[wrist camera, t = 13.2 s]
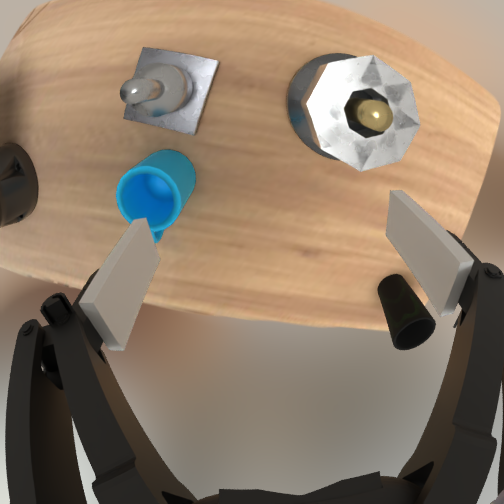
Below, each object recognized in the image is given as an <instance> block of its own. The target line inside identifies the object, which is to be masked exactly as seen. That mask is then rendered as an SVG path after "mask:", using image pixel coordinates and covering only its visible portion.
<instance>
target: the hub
mask: <svg viewBox="0 0 504 504" xmlns="http://www.w3.org/2000/svg"><path fill="white" fill-rule="evenodd" d="M351 58H357V57H356V56H353V55H349V54H341V53H335V54H327V55H323V56H320V57H318V58H315V59H313V60H312V61H310V62H308V63H306V64H305V65H304V66H303V67H301V68H300V69H299V71H298V72H297V73H296V74H295V76H294V77H293V79H292V81H291V83H290V85H289V88H288V92H287V98H286V106H287V113H288V117H289V120H290V123H291V125H292V127H293V129H294V131H295V132H296V133H297V135H298V136H299V137H300V139H301V140H302V141H303V142H304V143H305V144H306V145H307V146H308V147H310V148H311V149H312V150H314V151H315V152H317V153H318V154H320V155H322V156H325V157H327V158H330V159H335V160H340V159H338V158H336V157H334V156H333V155H331V154H329V153H327V152H325V151H323V150H322V149H321V148H320V147H319V146H318V145H317V144H316V143H315V142H314V140H313V137H312V134H311V131H310V128H309V125H308V122H307V119H306V116H305V113H304V111H303V108H302V105H301V100H302V98H303V96H304V94H305V92H306V91H307V89H308V87H309V85H310V83H311V81H312V79H313V77H314V76H315V74H316V72H317V70H318V68H319V66H322V65H324V64H327V63H331V62H335V61H340V60H346V59H351ZM343 109H344V112H345V116H346V119H347V123H348V126H349V128H350V129H351V130H353V131H359V130H363V129H367V128H370V129H373V130H375V131H385V130H387V129H388V128H389V127H390V126H391V124H392V122H393V112H392V110H391V108H390V107H389V106H388V105H387V104H386V103H384V102H382V101H376V100H373V97H372V96H370V95H369V94H367V93H366V92H364V91H363V90H357V91H353V92H352V94H351V95H350V97H349V99H348V101H347V103H346V105H345V106H344V108H343Z"/></svg>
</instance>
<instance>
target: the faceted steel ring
mask: <svg viewBox="0 0 504 504" xmlns="http://www.w3.org/2000/svg"><path fill="white" fill-rule="evenodd" d="M357 90H363V91H364V92H366V93H367V94H369V95H370V96H372V97H373V100H376V101H382V102H384V103H386V104H387V105H388V106H389V107H390V108H391V110H392V112H393V122H392V124H391V126H390V127H389V128H388V129H387V130H385V131H375V130H373V129H370V128H367V129H363V130H359V131H353V130H351V129H350V128H349V126H348V123H347V119H346V116H345V112H344V109H343V108H344V106H345V105H346V103H347V101H348V99H349V97H350V95H351V94H352V92H353V91H357ZM301 105H302V108H303V111H304V113H305V116H306V119H307V122H308V125H309V128H310V131H311V134H312V137H313V140H314V142H315V143H316V144H317V145H318V146H319V147H320V148H321V149H322V150H323V151H325V152H327V153H329V154H331V155H333V156H334V157H336V158H338V159H340V160H342V161H343V162H345V163H347V164H349V165H350V166H352V167H354V168H355V169H357V170H359V171H360V172H361V171H365V170H369V169H372V168H376V167H379V166H383V165H387V164H391V163H394V162H398V161H400V160H401V159H402V157H403V155H404V154H405V152H406V150H407V148H408V147H409V145H410V143H411V141H412V140H413V138H414V136H415V134H416V132H417V131H418V129H419V127H420V121H419V116H418V111H417V106H416V102H415V98H414V93H413V89H412V86H411V82H410V81H408V80H407V79H406V78H405V77H403V76H402V75H401V74H399V73H398V72H397V71H395V70H394V69H393V68H391V67H390V66H389V65H387V64H386V63H384V62H383V61H381V60H380V59H379V58H377V57H376V56H374V55H370V56H363V57H357V58H351V59H346V60H340V61H335V62H331V63H327V64H324V65H322V66H319V68H318V70H317V72H316V74H315V76H314V77H313V79H312V81H311V83H310V85H309V87H308V89H307V91H306V92H305V94H304V96H303V98H302V100H301Z"/></svg>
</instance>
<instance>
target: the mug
mask: <svg viewBox="0 0 504 504" xmlns="http://www.w3.org/2000/svg"><path fill="white" fill-rule="evenodd" d="M195 183H196V174H195V170H194V168H193V165H192V163H191V162H190V161H189V160H188V158H187V157H186V156H184V155H183V154H181V153H180V152H177V151H174V150H160V151H157V152H155V153H153V154H151V155H150V156H148V157H147V158H145V159H144V160H143V161H141V162H140V163H138V164H137V165H136V166H134V167H133V168H132V169H130V170H129V171H128V172H127V173H126V174H125V175H124V176H123V177H122V178H121V180H120V182H119V184H118V186H117V192H116V199H117V205H118V208H119V210H120V212H121V214H122V215H123V217H124V218H125V219H126V220H127V221H128V222H129V223H130V224H131V223H132V222H133V220H135V219H141V218H147V222H148V225H149V228H150V231H151V234H152V237H153V240H154V243H158V242H159V241H160V239H161V237H162V235H163V232H164V229H166V228H167V227H169V226H170V225H172V224H173V223H174V221H175V220H176V219H177V217H178V216H179V214H180V212H181V210H182V209H183V207H184V205H185V203H186V202H187V200H188V198H189V197H190V195H191V193H192V191H193V190H194V186H195ZM154 231H155V232H154Z"/></svg>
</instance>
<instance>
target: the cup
mask: <svg viewBox="0 0 504 504" xmlns="http://www.w3.org/2000/svg"><path fill="white" fill-rule="evenodd" d="M378 294H379V297H380V300H381V303H382V307H383V310H384V313H385V317H386V320H387V323H388V327H389V331H390V334H391V338H392V342H393V345H394V347H395V348H397V349H399V350H409V349H412V348H415V347H417V346H419V345H420V344H422V343H424V342H425V341H426V340H427V339H428V338H429V337H430V336H431V334H432V333H433V332H434V330H435V325H436V323H435V320H434V319H433V317H432V316H431V315H430V313H429V312H428V310H427V309H426V308H425V306H424V305H423V303H422V302H421V301H420V299H419V298H418V297H417V295H416V294H415V292H414V291H413V290H412V288H411V287H410V286H409V285H408V283H407V282H406V281H405V279H404V278H403V277H402V276H401V275H398V274H393V275H390V276H387V277H386V278H384V279H383V280H382V281H381V283H380V284H379V286H378Z"/></svg>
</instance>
